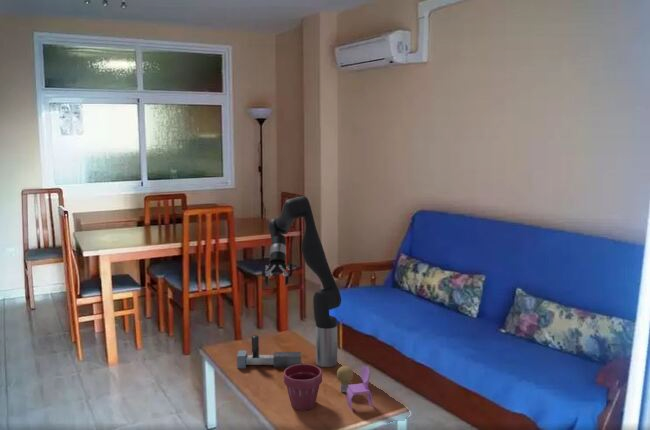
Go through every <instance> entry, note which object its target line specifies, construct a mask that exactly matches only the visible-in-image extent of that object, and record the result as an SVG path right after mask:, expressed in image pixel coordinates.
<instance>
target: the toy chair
mask: <svg viewBox="0 0 650 430" xmlns="http://www.w3.org/2000/svg"><path fill="white" fill-rule="evenodd" d="M370 371H371V370H370V367H369V366H367V365H362V366H361V368H360V375H359V376H360V379H361V380H362V382H361V383H354V384H351V383H350V385H348V388H347V392H346V402H347V405H348V407H349V409H350V408H351V409H350V411H351V412H352V411H353V412H354V410H353V406H352V400H353V397H354V396H357V395H362V394H363V395H364V394H366V395H367V402H368V403H370V404H369V405H370V407H371V406H372V407H371V408H372V409H373V410H375V408H374V404H373V400H372V399H373V398H372V393H371V390H370V388H369V381H370V378H371V373H370Z"/></svg>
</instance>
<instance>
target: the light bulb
mask: <svg viewBox="0 0 650 430" xmlns="http://www.w3.org/2000/svg"><path fill="white" fill-rule="evenodd" d="M336 377H337V379H338V381H339V383H340V384H339V385H340V389H339V390H340V392H342V393H347V388H348V385H351V381H352V380H353V378H354V371H353V369H352V368H351V367H350V366H348V365H343V366H340V367H339V368H338V369H337V371H336Z"/></svg>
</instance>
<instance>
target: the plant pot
mask: <svg viewBox="0 0 650 430" xmlns="http://www.w3.org/2000/svg"><path fill="white" fill-rule="evenodd" d="M322 382H323V372H322V369H321V368H320V366H318V365H314V364H310V363H301V364H297V365H293V366H290V367H288V368H285V369H284V371H283V383H284V385H285V387H286V388H287V394H288V398H289V402H290V406H291V407H292V408H294V409H296V410H303V411H304V410H305V411H306V410H309V409H313V408H314V407H315V406H316V403H317V399H318V395H319V388H320V385H321V384H322Z"/></svg>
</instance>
